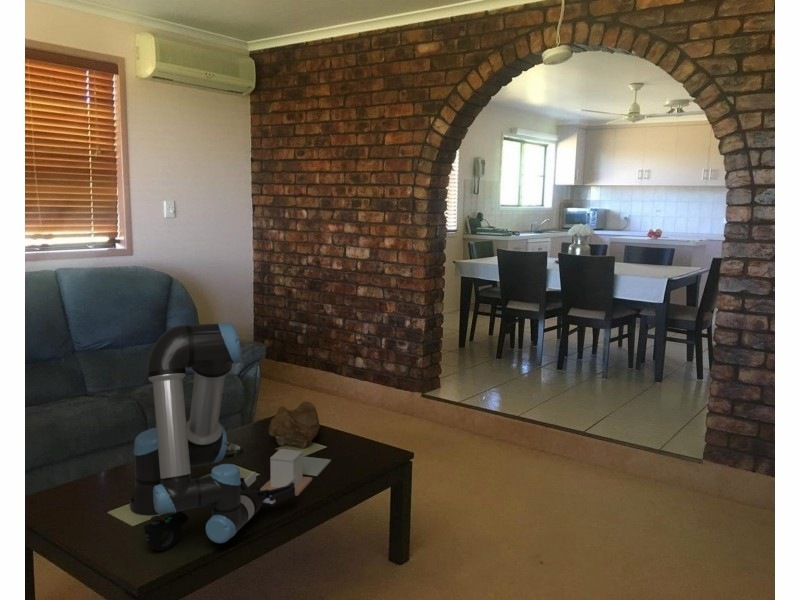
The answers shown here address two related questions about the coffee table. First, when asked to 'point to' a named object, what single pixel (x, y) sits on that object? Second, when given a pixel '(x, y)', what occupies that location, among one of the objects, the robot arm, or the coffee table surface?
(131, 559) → the coffee table surface
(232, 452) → the log
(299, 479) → the white box
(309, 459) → the mat
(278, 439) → the rough brown rock
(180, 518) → the controller
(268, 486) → the thin square tile
